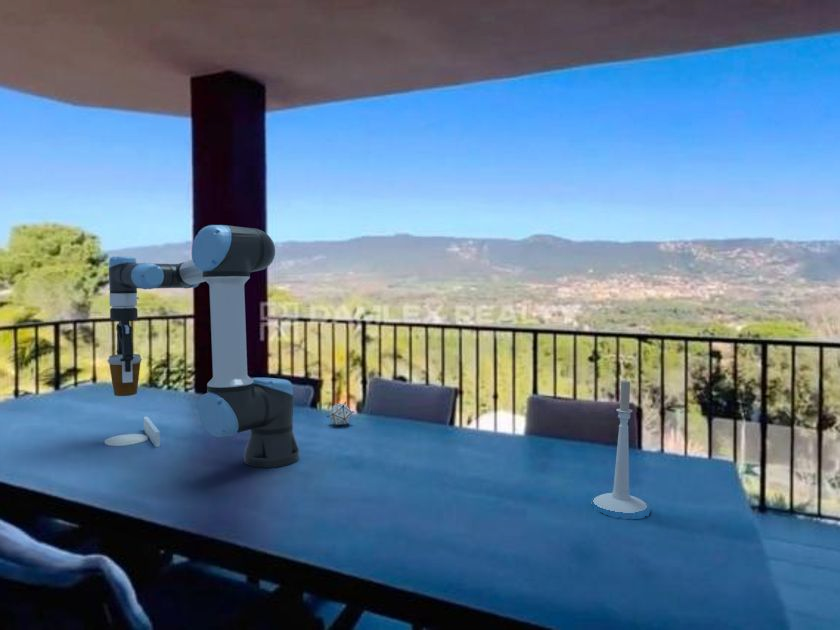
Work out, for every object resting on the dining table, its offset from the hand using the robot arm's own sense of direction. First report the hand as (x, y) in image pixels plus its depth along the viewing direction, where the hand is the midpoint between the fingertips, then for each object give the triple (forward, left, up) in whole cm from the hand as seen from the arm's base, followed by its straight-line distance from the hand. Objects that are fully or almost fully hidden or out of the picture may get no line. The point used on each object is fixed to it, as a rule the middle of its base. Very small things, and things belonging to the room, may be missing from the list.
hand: (125, 379), depth 182 cm
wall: (-1, -7, -19) cm, 20 cm away
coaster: (0, 0, -19) cm, 19 cm away
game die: (-17, -65, -19) cm, 70 cm away
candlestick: (-116, -88, -19) cm, 147 cm away
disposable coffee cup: (0, 0, -5) cm, 5 cm away
